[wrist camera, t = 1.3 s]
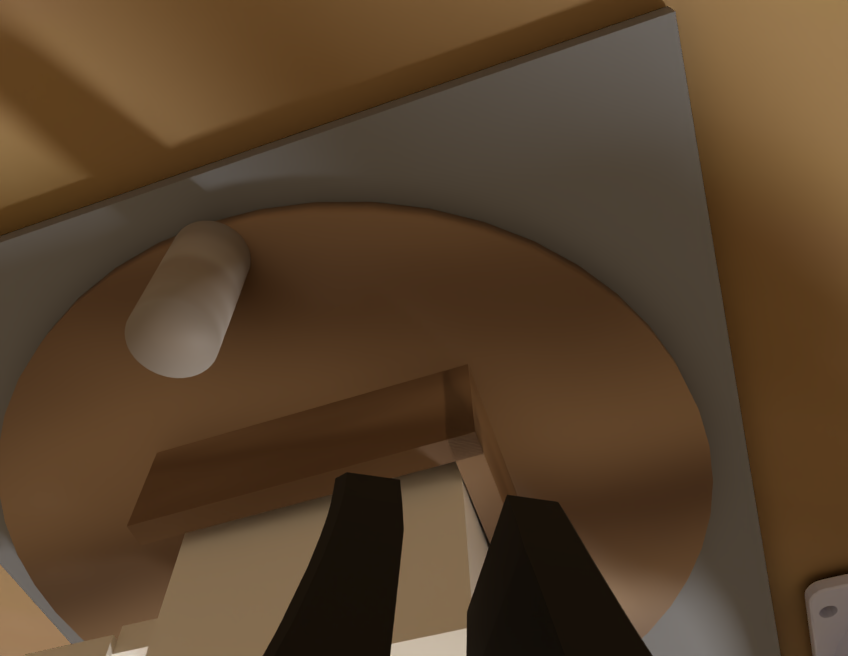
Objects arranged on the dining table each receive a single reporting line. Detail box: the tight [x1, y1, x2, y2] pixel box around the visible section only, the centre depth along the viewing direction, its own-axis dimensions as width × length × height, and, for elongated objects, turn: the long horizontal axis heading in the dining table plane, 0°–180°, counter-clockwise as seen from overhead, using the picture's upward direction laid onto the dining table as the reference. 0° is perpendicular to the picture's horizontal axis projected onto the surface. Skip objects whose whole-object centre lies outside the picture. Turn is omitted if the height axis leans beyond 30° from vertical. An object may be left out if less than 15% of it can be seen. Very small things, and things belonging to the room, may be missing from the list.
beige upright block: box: [25, 461, 490, 656], centre depth 19 cm, size 12×6×6 cm, turn 107°
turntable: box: [0, 202, 713, 641], centre depth 20 cm, size 18×18×4 cm
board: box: [0, 6, 781, 656], centre depth 24 cm, size 30×20×1 cm, turn 19°
